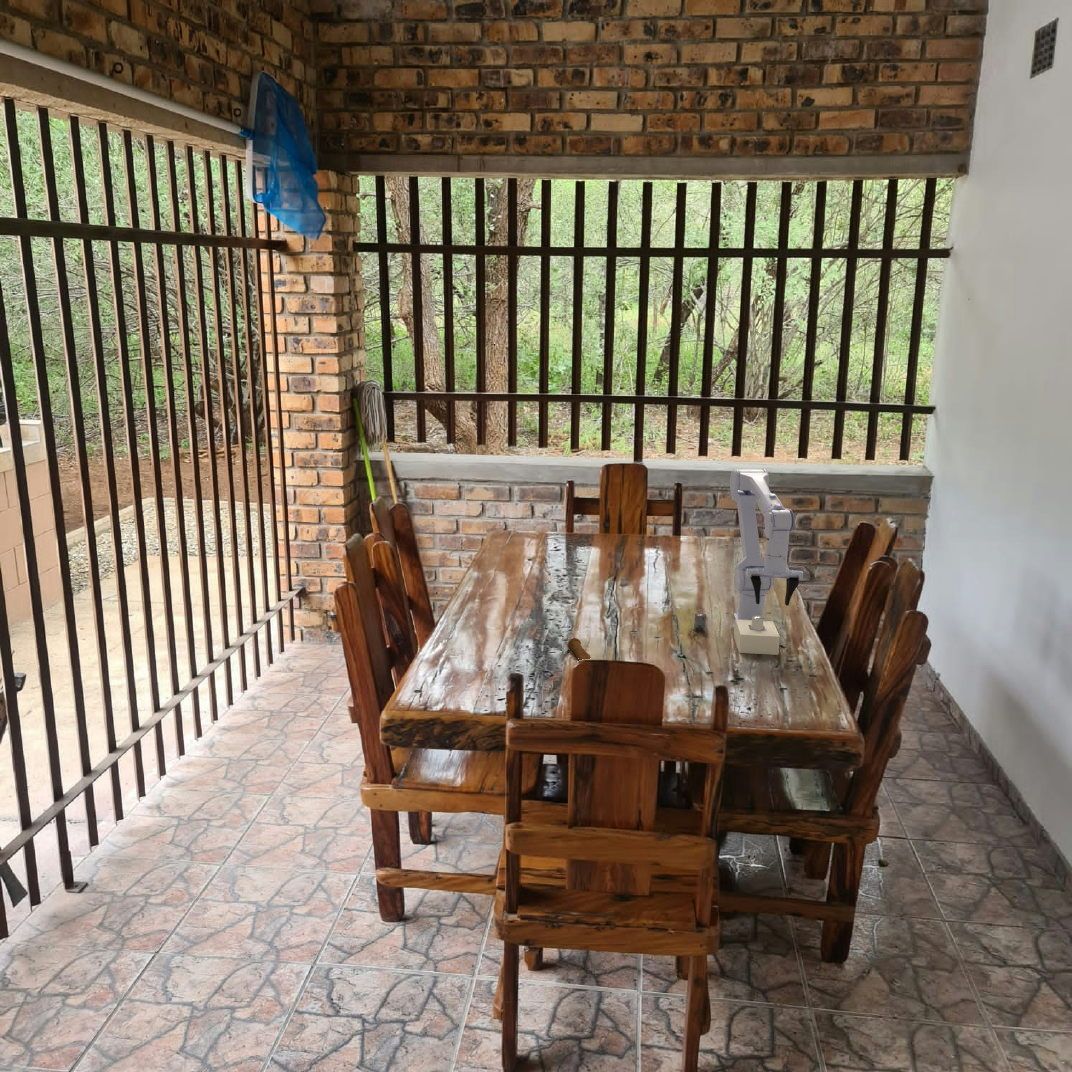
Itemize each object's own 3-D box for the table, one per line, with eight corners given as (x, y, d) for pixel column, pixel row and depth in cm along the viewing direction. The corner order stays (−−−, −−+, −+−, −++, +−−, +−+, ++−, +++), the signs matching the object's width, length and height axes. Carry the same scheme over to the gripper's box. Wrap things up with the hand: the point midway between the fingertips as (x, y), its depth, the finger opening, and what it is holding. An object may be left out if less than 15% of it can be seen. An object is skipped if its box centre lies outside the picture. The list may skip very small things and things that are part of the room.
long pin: (748, 643, 256) (751, 615, 254) (760, 644, 256) (763, 615, 254) (750, 647, 253) (753, 618, 251) (761, 648, 253) (764, 619, 251)
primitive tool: (608, 676, 232) (608, 663, 231) (586, 679, 231) (587, 665, 230) (579, 649, 250) (580, 636, 249) (559, 651, 248) (560, 638, 247)
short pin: (693, 627, 267) (694, 612, 266) (704, 628, 267) (705, 613, 266) (694, 631, 264) (695, 616, 263) (705, 632, 264) (706, 616, 263)
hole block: (733, 636, 261) (735, 619, 260) (771, 638, 260) (772, 621, 259) (739, 652, 249) (740, 634, 248) (778, 654, 248) (780, 636, 247)
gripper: (750, 556, 250) (746, 606, 253) (807, 559, 249) (802, 609, 252) (746, 550, 257) (743, 599, 260) (802, 552, 255) (797, 601, 259)
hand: (772, 603), depth 256 cm, fingers open, 7 cm apart
